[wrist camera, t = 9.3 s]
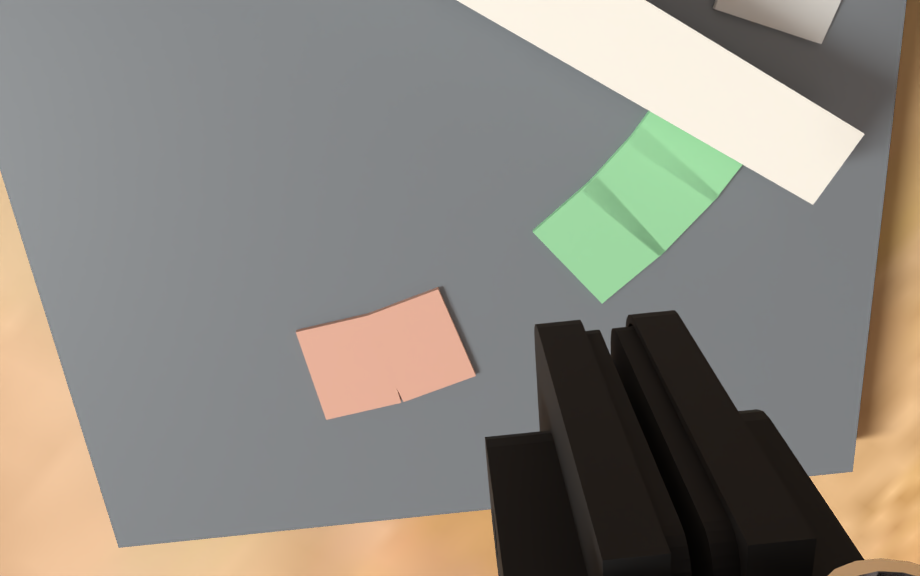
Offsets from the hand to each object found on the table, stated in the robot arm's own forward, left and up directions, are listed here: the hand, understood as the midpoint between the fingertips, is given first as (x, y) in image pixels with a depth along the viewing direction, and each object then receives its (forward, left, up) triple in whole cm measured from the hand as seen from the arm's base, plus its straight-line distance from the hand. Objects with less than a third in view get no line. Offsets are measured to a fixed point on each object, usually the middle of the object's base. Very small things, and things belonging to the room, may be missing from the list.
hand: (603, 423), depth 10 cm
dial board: (-1, -1, -15) cm, 15 cm away
